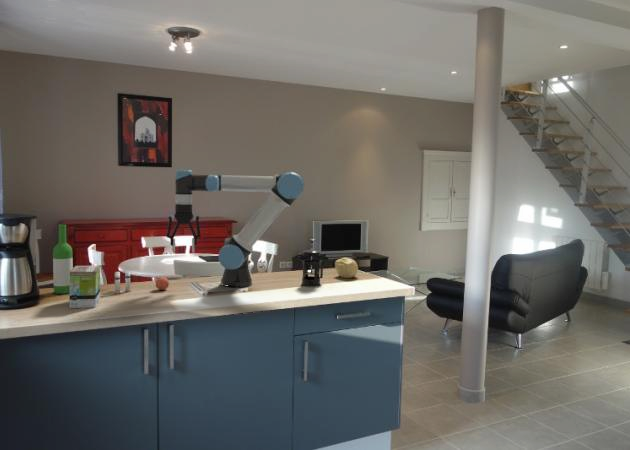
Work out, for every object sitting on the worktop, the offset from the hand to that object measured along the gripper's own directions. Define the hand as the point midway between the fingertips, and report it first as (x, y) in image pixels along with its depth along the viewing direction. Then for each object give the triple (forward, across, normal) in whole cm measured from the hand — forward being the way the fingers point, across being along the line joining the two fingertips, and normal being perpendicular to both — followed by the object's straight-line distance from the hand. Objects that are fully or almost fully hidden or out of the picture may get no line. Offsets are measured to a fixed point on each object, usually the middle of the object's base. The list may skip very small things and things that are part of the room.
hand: (183, 252), depth 240 cm
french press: (+17, -63, +3) cm, 65 cm away
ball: (+14, +10, 0) cm, 17 cm away
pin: (+17, +29, +3) cm, 34 cm away
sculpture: (+18, -88, -12) cm, 90 cm away
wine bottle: (+17, +51, -4) cm, 54 cm away
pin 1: (+17, +29, -2) cm, 34 cm away
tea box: (+18, +41, +19) cm, 48 cm away
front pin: (+17, +24, 0) cm, 30 cm away
